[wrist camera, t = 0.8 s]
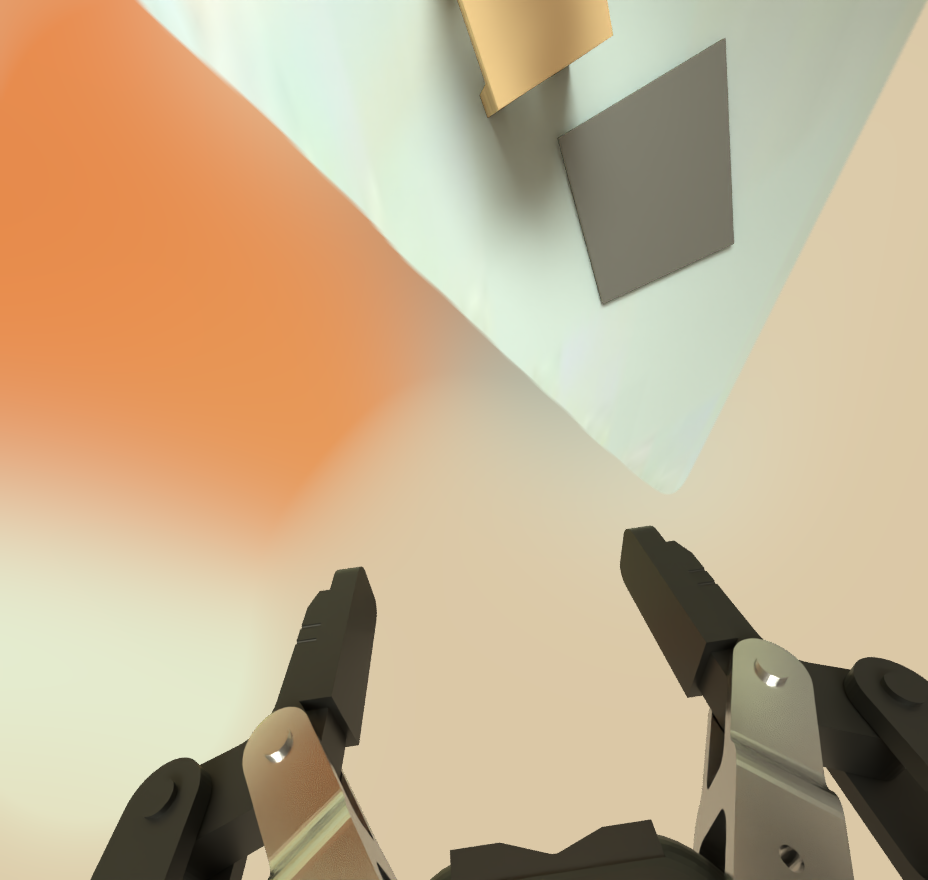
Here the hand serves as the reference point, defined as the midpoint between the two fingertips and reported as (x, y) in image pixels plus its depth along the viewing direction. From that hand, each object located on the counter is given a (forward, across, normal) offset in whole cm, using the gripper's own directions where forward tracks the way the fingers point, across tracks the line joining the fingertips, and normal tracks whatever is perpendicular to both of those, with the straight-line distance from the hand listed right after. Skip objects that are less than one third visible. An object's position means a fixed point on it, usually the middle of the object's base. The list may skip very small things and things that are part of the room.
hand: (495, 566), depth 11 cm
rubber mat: (+23, -15, -10) cm, 29 cm away
